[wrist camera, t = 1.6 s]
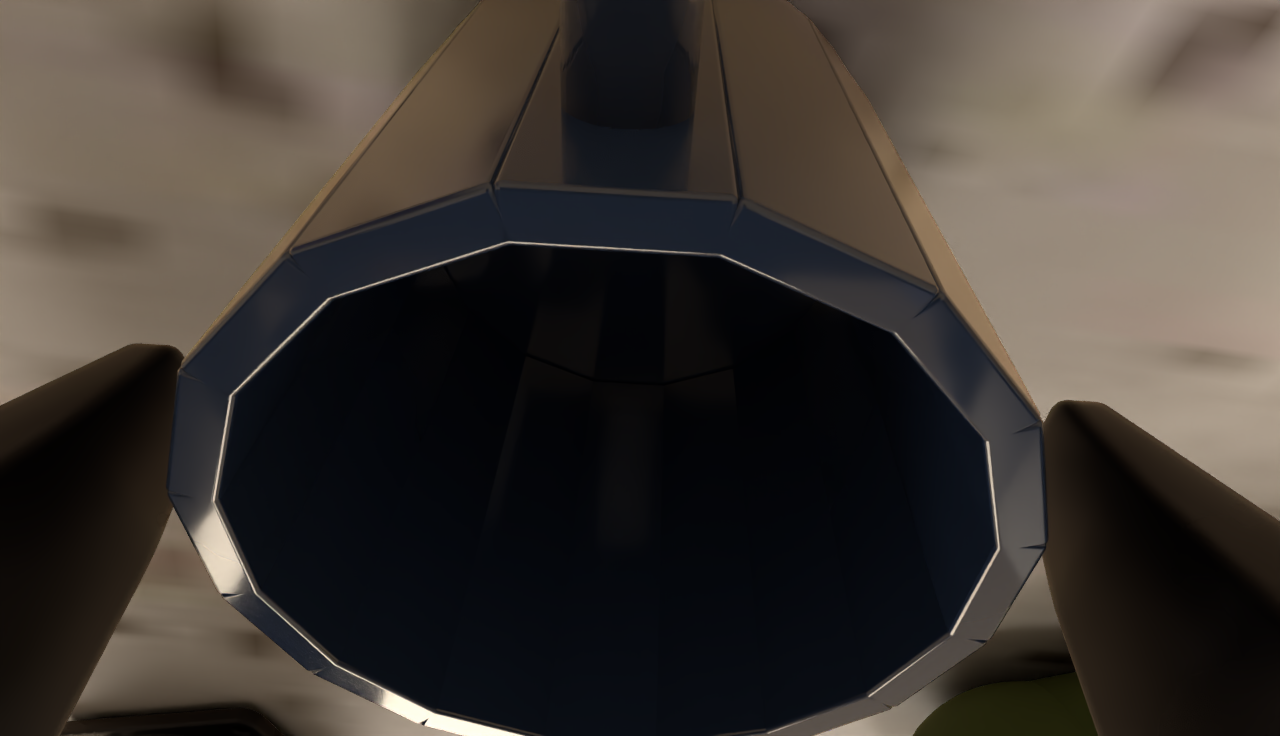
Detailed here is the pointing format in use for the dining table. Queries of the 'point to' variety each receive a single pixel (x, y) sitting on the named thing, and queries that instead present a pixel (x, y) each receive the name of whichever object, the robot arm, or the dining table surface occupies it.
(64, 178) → the dining table surface
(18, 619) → the robot arm
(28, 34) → the dining table surface
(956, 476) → the blue coffee mug
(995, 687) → the avocado
